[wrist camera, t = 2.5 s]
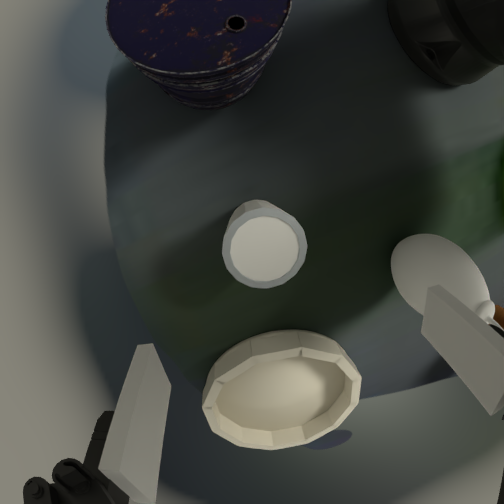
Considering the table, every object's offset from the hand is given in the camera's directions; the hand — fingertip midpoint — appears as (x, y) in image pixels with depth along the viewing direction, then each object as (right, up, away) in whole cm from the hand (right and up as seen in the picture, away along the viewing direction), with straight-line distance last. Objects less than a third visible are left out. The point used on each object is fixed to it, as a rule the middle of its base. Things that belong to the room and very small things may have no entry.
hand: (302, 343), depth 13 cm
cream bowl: (+2, -15, +26) cm, 30 cm away
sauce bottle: (+16, +4, +20) cm, 26 cm away
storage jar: (-6, +22, +12) cm, 26 cm away
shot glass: (-2, +7, +18) cm, 19 cm away
